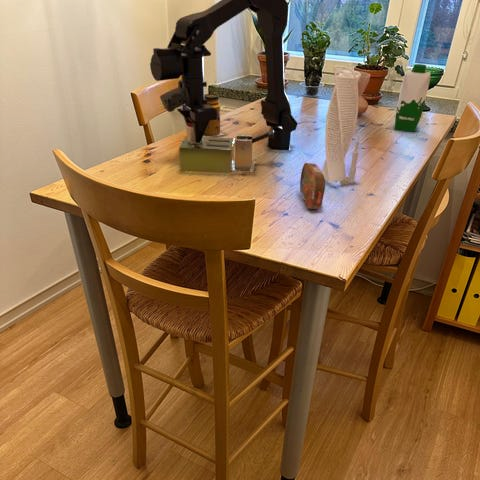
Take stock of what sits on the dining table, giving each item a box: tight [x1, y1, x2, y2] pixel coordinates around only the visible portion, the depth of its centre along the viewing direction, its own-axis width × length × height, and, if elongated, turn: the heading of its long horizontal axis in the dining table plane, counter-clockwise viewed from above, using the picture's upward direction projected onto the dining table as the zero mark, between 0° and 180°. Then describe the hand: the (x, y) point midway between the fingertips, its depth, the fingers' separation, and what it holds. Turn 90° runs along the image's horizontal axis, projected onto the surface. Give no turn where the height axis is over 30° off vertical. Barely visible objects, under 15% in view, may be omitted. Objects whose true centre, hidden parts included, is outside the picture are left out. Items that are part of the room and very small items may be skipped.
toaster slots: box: [206, 139, 230, 147], centre depth 127 cm, size 6×6×1 cm
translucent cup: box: [185, 123, 203, 144], centre depth 126 cm, size 4×4×5 cm
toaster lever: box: [244, 127, 274, 144], centre depth 125 cm, size 10×6×2 cm, turn 85°
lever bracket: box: [231, 134, 256, 174], centre depth 128 cm, size 6×8×9 cm
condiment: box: [202, 93, 226, 138], centre depth 153 cm, size 7×8×12 cm
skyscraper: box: [320, 64, 361, 187], centre depth 117 cm, size 8×8×28 cm
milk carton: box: [393, 63, 431, 133], centre depth 160 cm, size 9×9×20 cm
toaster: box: [178, 135, 236, 175], centre depth 129 cm, size 15×10×7 cm
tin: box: [299, 162, 326, 210], centre depth 112 cm, size 15×3×8 cm, turn 5°
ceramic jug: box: [336, 71, 371, 116], centre depth 177 cm, size 18×14×14 cm
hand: (194, 140), depth 127 cm, fingers closed on translucent cup, 4 cm apart
